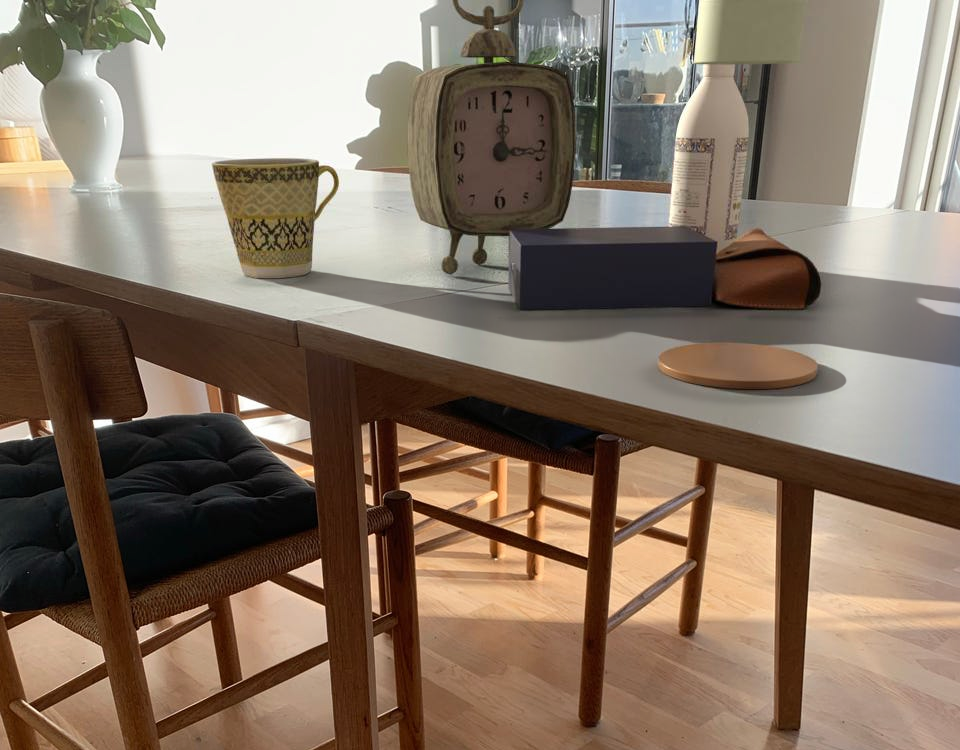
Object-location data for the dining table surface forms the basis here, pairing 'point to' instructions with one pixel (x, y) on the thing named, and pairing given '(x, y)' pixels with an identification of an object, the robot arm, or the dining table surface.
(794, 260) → the sunglasses case
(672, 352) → the coaster
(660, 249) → the navy case
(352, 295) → the dining table surface
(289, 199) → the ceramic cup
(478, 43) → the tabletop clock
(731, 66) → the bath foam
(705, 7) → the bottle
